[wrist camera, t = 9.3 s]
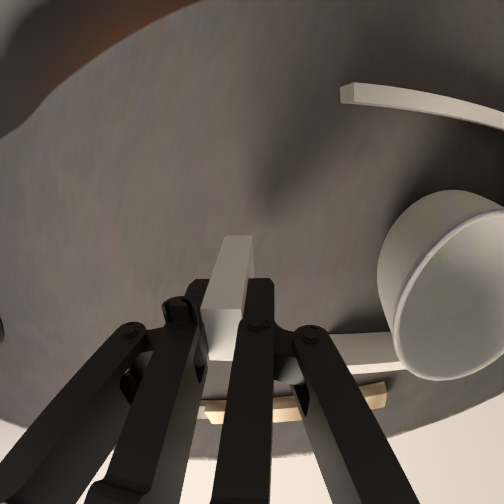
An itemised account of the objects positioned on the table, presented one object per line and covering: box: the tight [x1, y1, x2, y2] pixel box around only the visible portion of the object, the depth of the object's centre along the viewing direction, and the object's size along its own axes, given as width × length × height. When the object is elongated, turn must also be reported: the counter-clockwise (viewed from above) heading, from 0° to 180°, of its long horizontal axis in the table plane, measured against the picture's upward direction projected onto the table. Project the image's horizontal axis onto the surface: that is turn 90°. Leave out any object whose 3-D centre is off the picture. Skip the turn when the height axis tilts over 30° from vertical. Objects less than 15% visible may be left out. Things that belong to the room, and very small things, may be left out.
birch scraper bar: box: [197, 381, 387, 424], centre depth 27 cm, size 23×2×2 cm, turn 103°
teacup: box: [377, 190, 504, 380], centre depth 15 cm, size 14×11×8 cm
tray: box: [329, 82, 504, 374], centre depth 17 cm, size 15×19×4 cm
